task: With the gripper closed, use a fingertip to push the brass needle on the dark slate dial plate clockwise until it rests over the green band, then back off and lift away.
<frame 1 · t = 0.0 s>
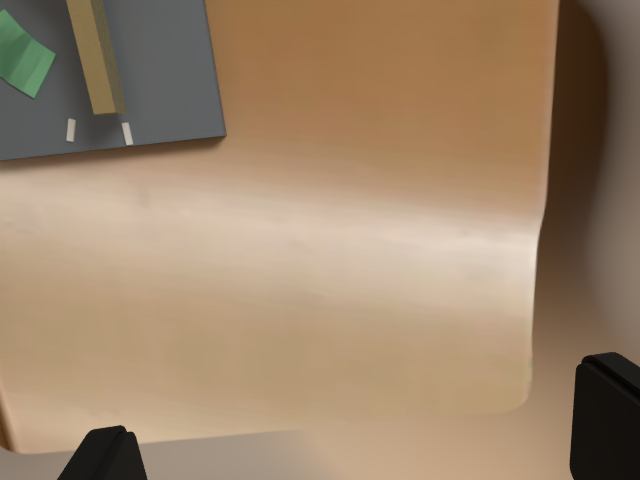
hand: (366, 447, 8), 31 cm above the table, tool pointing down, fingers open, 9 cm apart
needle: (91, 20, 30), point 4 cm above the table, hinge at 0.0°
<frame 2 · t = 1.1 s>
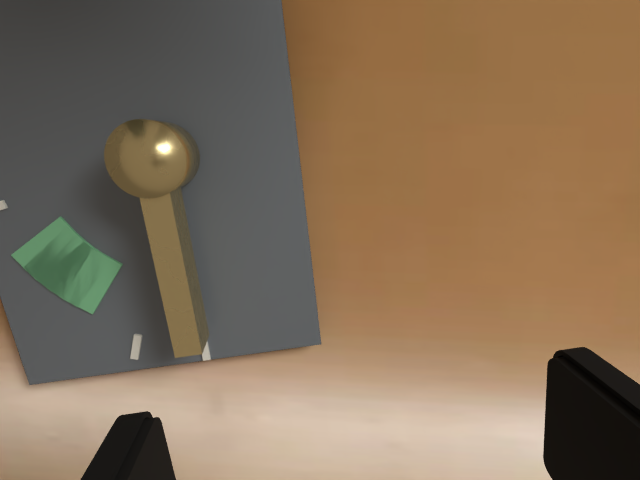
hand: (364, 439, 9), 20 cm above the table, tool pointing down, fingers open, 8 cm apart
dial plate: (173, 155, 26), on the table
needle: (173, 239, 24), point 4 cm above the table, hinge at 0.0°
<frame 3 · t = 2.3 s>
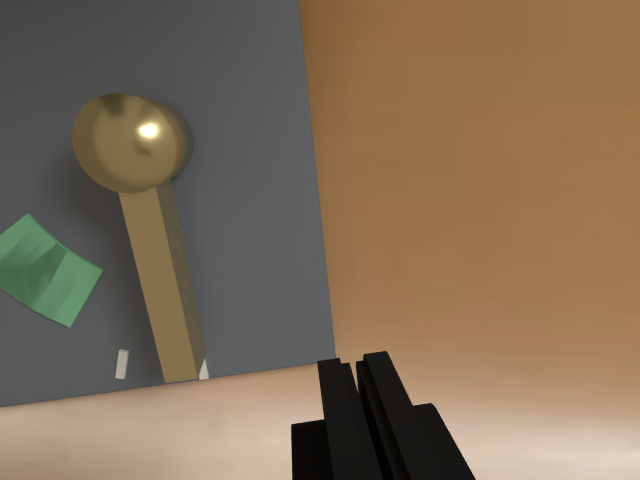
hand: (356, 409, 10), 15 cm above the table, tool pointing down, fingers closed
dial plate: (162, 140, 22), on the table
needle: (162, 242, 20), point 4 cm above the table, hinge at 0.0°
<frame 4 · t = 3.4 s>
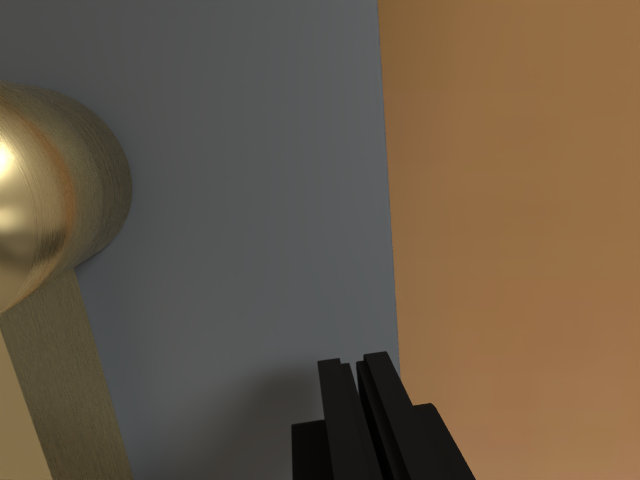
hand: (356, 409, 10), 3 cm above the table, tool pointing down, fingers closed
dial plate: (77, 173, 11), on the table
needle: (52, 414, 8), point 4 cm above the table, hinge at 0.0°
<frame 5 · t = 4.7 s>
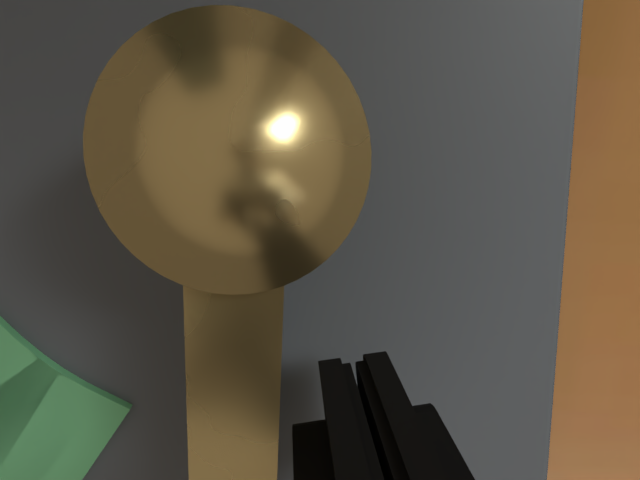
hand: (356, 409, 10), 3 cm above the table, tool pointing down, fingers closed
dial plate: (256, 149, 11), on the table
needle: (242, 380, 9), point 4 cm above the table, hinge at 8.1°, touching gripper
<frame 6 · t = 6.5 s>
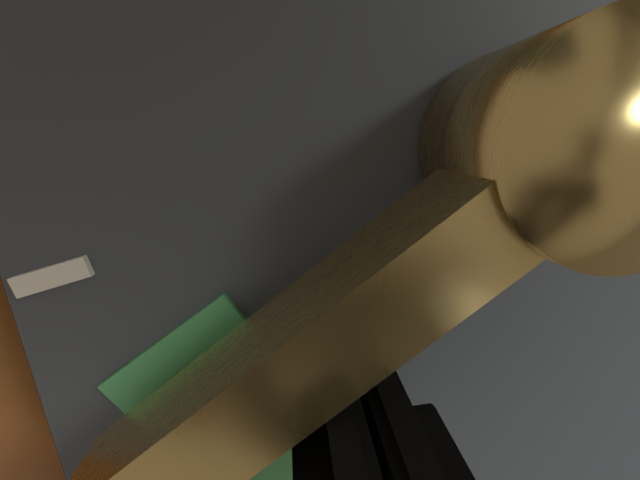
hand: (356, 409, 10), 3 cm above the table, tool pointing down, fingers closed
dial plate: (468, 142, 11), on the table
needle: (356, 295, 8), point 4 cm above the table, hinge at 57.6°, touching gripper
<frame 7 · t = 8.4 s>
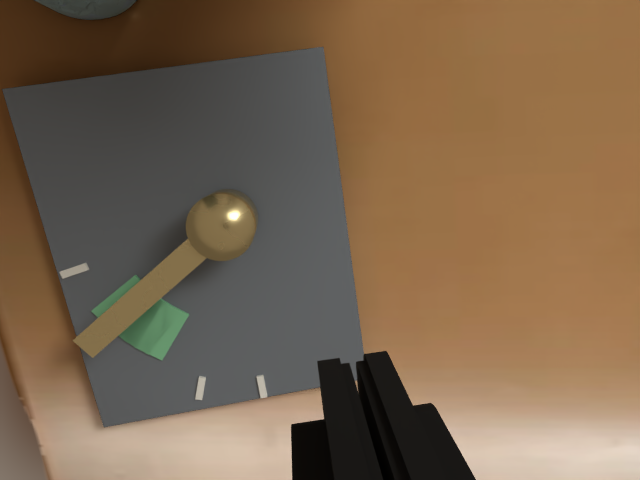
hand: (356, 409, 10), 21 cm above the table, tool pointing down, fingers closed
dial plate: (231, 214, 29), on the table
needle: (170, 271, 26), point 4 cm above the table, hinge at 57.7°
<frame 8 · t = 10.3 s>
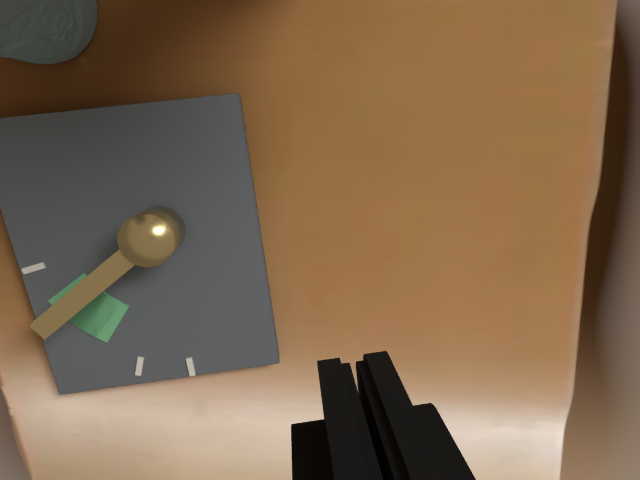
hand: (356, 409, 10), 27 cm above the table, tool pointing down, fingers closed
dial plate: (166, 225, 35), on the table
needle: (109, 272, 32), point 4 cm above the table, hinge at 57.7°
teal cup: (37, 2, 30), on the table
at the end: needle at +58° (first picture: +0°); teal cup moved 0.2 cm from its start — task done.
